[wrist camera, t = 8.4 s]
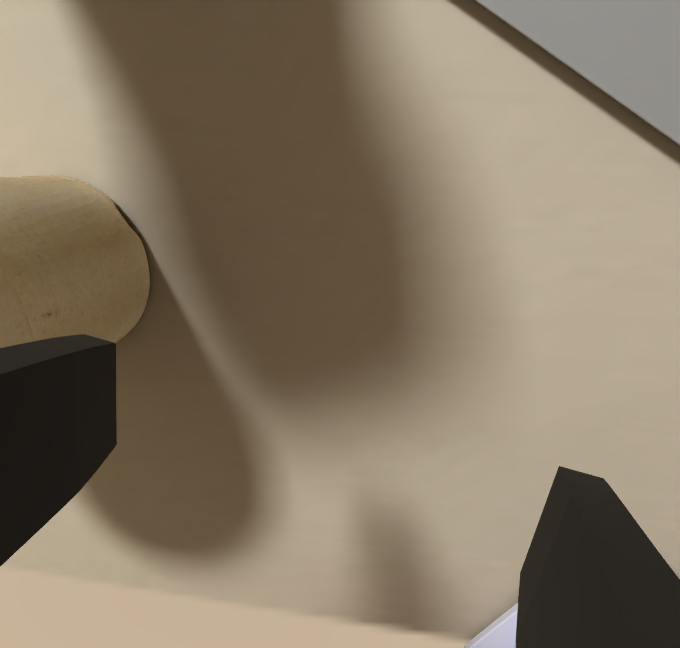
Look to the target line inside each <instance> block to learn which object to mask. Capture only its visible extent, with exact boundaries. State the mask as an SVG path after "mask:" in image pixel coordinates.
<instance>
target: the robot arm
mask: <svg viewBox="0 0 680 648" xmlns="http://www.w3.org/2000/svg"><path fill="white" fill-rule="evenodd" d="M116 445H117V441H116V343H114V342H111V341H107V340H103V339H100V338H96V337H93V336H89V335H85V334H80V335H70V336H62V337H56V338H49V339H44V340H38V341H33V342H28V343H23V344H18V345H13V346H8V347H3V348H0V566H1V565H2V564H3V563H4V562H6V561H7V560H8V559H9V558H10V557H11V556H12V555H13V554H14V553H15V552H16V551H17V550H18V549H19V548H20V547H22V546H23V545H24V544H25V543H26V542H27V541H28V540H29V539H30V538H31V537H32V536H33V535H34V534H35V533H36V532H38V531H39V530H40V529H41V528H42V527H43V526H44V525H45V524H46V523H47V522H48V521H49V520H50V519H51V518H52V517H53V516H54V515H55V514H56V513H57V512H59V511H60V510H61V509H62V508H63V507H64V506H65V505H66V504H67V503H68V502H69V501H70V500H71V499H72V498H73V497H74V496H75V495H76V494H77V493H78V492H79V491H80V490H81V489H82V487H83V486H84V485H85V484H86V483H87V481H88V480H89V479H90V478H91V477H92V475H93V474H94V473H95V472H96V471H97V469H98V468H99V467H100V466H101V464H102V463H103V462H104V460H105V459H106V458H107V456H108V455H109V454H110V453H111V451H112V450H113V449H114V447H115V446H116ZM464 648H680V579H679V578H678V577H677V576H676V574H675V573H674V572H673V570H672V569H671V568H670V566H669V565H668V564H667V562H666V561H665V560H664V558H663V557H662V556H661V555H660V553H659V552H658V551H657V549H656V548H655V547H654V545H653V544H652V542H651V541H650V540H649V538H648V537H647V536H646V534H645V533H644V532H643V530H642V529H641V528H640V526H639V525H638V523H637V522H636V521H635V519H634V518H633V517H632V515H631V514H630V513H629V511H628V510H627V508H626V507H625V506H624V504H623V503H622V502H621V500H620V499H619V498H618V496H617V495H616V494H615V492H614V491H613V490H612V488H611V487H610V486H609V485H608V483H607V482H606V481H605V480H604V479H603V478H600V477H596V476H593V475H589V474H585V473H582V472H578V471H575V470H571V469H568V468H564V467H560V466H559V468H558V471H557V473H556V476H555V479H554V482H553V484H552V487H551V490H550V493H549V495H548V498H547V501H546V504H545V506H544V509H543V512H542V515H541V517H540V520H539V523H538V526H537V528H536V531H535V534H534V537H533V539H532V542H531V545H530V548H529V550H528V553H527V556H526V559H525V561H524V564H523V567H522V570H521V572H520V585H519V597H518V603H517V604H515V605H514V606H513V607H512V608H510V609H509V610H508V611H507V612H505V613H504V614H503V615H502V616H500V617H499V618H498V619H497V620H495V621H494V622H493V623H492V624H490V625H489V626H488V627H487V628H485V629H484V630H483V631H482V632H480V633H479V634H478V635H477V636H475V637H474V638H473V639H471V640H470V641H469V642H468V643H466V645H465V646H464Z"/></svg>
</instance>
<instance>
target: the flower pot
mask: <svg viewBox="0 0 680 648" xmlns="http://www.w3.org/2000/svg"><path fill="white" fill-rule="evenodd" d="M149 288H150V273H149V266H148V261H147V256H146V252H145V249H144V246H143V243H142V241H141V239H140V238H139V236H138V235H137V234H136V233H135V232H134V231H133V230H132V228H131V227H130V226H129V225H128V224H127V222H126V221H125V219H124V218H123V217H122V215H121V214H120V212H119V211H118V209H117V208H116V206H115V205H114V203H113V201H112V200H111V199H110V198H109V197H107V196H106V195H105V194H104V193H102V192H101V191H100V190H98V189H96V188H94V187H93V186H91V185H89V184H87V183H84V182H82V181H80V180H77V179H74V178H70V177H64V176H52V175H50V176H29V177H0V348H3V347H8V346H13V345H18V344H23V343H28V342H33V341H38V340H44V339H49V338H56V337H62V336H70V335H80V334H85V335H89V336H93V337H96V338H100V339H103V340H107V341H111V342H114V343H117V342H118V341H119V340H120V339H122V338H123V337H124V336H126V335H127V334H128V333H129V332H130V331H131V329H132V328H133V327H134V326H135V325H136V324H137V322H138V321H139V319H140V318H141V316H142V314H143V312H144V309H145V307H146V303H147V300H148V296H149Z"/></svg>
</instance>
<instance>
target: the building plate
mask: <svg viewBox="0 0 680 648" xmlns="http://www.w3.org/2000/svg"><path fill="white" fill-rule="evenodd" d="M474 1H476V2H477V3H478V4H480V5H481V6H483V7H484V8H485V9H487V10H488V11H490V12H491V13H493V14H494V15H495V16H497V17H498V18H500V19H501V20H502V21H504V22H505V23H507V24H508V25H509V26H511V27H512V28H514V29H515V30H517V31H518V32H519V33H521V34H522V35H524V36H525V37H526V38H528V39H529V40H531V41H532V42H533V43H535V44H536V45H538V46H539V47H541V48H542V49H543V50H545V51H546V52H548V53H549V54H550V55H552V56H553V57H555V58H556V59H557V60H559V61H560V62H562V63H563V64H565V65H566V66H567V67H569V68H570V69H572V70H573V71H574V72H576V73H577V74H579V75H580V76H581V77H583V78H584V79H586V80H587V81H589V82H590V83H591V84H593V85H594V86H596V87H597V88H598V89H600V90H601V91H603V92H604V93H605V94H607V95H608V96H610V97H611V98H613V99H614V100H615V101H617V102H618V103H620V104H621V105H622V106H624V107H625V108H627V109H628V110H629V111H631V112H632V113H634V114H635V115H637V116H638V117H639V118H641V119H642V120H644V121H645V122H646V123H648V124H649V125H651V126H652V127H653V128H655V129H656V130H658V131H659V132H661V133H662V134H663V135H665V136H666V137H668V138H669V139H670V140H672V141H673V142H675V143H676V144H677V145H679V146H680V0H474Z"/></svg>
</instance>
